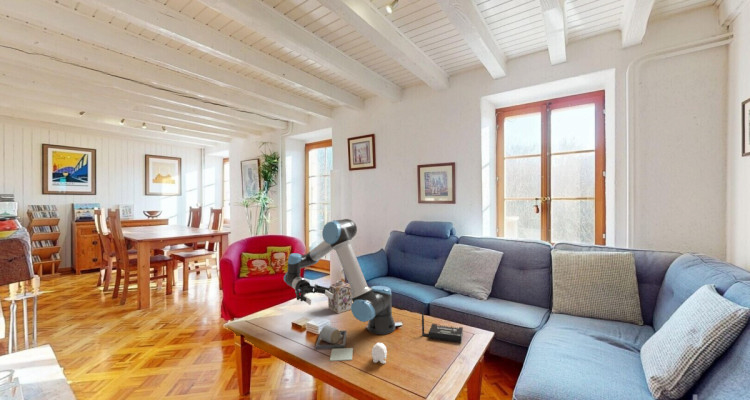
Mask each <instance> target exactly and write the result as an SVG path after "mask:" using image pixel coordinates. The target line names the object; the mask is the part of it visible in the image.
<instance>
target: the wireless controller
mask: <svg viewBox="0 0 750 400" xmlns="http://www.w3.org/2000/svg"><path fill="white" fill-rule="evenodd" d="M421 311H422V312H421V335H422V337H424V336H425V337H428V339H429V340H435V341H443V342H450V343H458V344H462V342H463V336H464V327H462V326H459V327H456V326H454V327H453V326H446V325H441V324H436V323H432V324H431V326H430V328H429V331H428V333H426V332H425V317H424V316H425V315H424V304H423V303H421Z"/></svg>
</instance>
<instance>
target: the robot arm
mask: <svg viewBox="0 0 750 400" xmlns="http://www.w3.org/2000/svg"><path fill="white" fill-rule="evenodd" d="M357 233H358V228H357V224H356V223H355V222H354V220H352V219H349V218H343V219H337V220H335V219H334V220H331V221H328V222H326V223H325V224H324V226H323V229H322V233H321V234H322V235H321V236H322V239H323V241H322V242H320V243H319V244H318V245H316V246H315V247H314V248H312V249H311V250H310V251H309V252H307V253H306V254H300V253H297V252H296V253H294V252H293V253H290V254H289V255H288V260H287V272H285V274H284V275H283V281H284V283H286V285H287V286H289V287H291V288H293V289H294V290H295V291H294V293H295V296H296V297H295V298H296V301H300V302H305V303H306V304H308V305H309V306H310V305H312V299H311V298H310V297H309V296H307V295H306V294H311V293H312V294H316V293H317V294H322V295H323V294H324V295H325V296H326V297H327V298H328V297H329V298H330V299H333V294H332V293H331V292H329V287H326V286H322V285H318V284H316V283H315V284H314V285H311V284H310V282H309V281H308V280H306V279H305V278H303V277H302V276H301V269H304V268H306V267H310V266H314V265H315V264H317V263H319V261H320V260H321V259H323V258H324V257H325V256H326V255H327V254H330V253H331V252H332V251H333V250H335V251H336V254H337V257H338V259H339V262H340V265H341V268H342V270H343V272H344V275H345V278H346V279H347V283H348V284H349V285H350V288H351V290H352V297H351V298H352V307H351V310H350V311H351V313H352V315H353V317H354V318H355V319H356V320H358V321H359V322H362V323H366V322H367V330H368V332H369V333H371V334H374V335H388V334H391V333H393V332H395V330H396V322H395V320H394V317H393V313H392V311H393V310H392V308H393V306H392V305H393V304H392V303H393V302H392V301H393V300H392V296H393V295H392V289H391V288H390V287H389V286H384V285H373V286H368V283H367V281H366V279H365V278H366V277H365V276H364V273H363V271H362V268H361V265H360V264H359V261H358V259H357V255H356V253H355V251H354V248H353V246H352V242H353V238H354V237H356V234H357Z"/></svg>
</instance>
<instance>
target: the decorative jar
mask: <svg viewBox="0 0 750 400" xmlns="http://www.w3.org/2000/svg"><path fill="white" fill-rule="evenodd" d="M328 288H329V292H331V293H332V294H333V299H330V298H329V297H327V301H328V302H327V304H328V310H330V311H332V312H334V313H336V314H342V313H345V312H349V311H351V307H352V303H353V301H352V298H351V297H352V295H353V293H352V290H351V288H350V285H349V283H348V282H344V281H343V280H337V281H336V282H334V283H332V284H331V285H330V286H329V287H328Z"/></svg>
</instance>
